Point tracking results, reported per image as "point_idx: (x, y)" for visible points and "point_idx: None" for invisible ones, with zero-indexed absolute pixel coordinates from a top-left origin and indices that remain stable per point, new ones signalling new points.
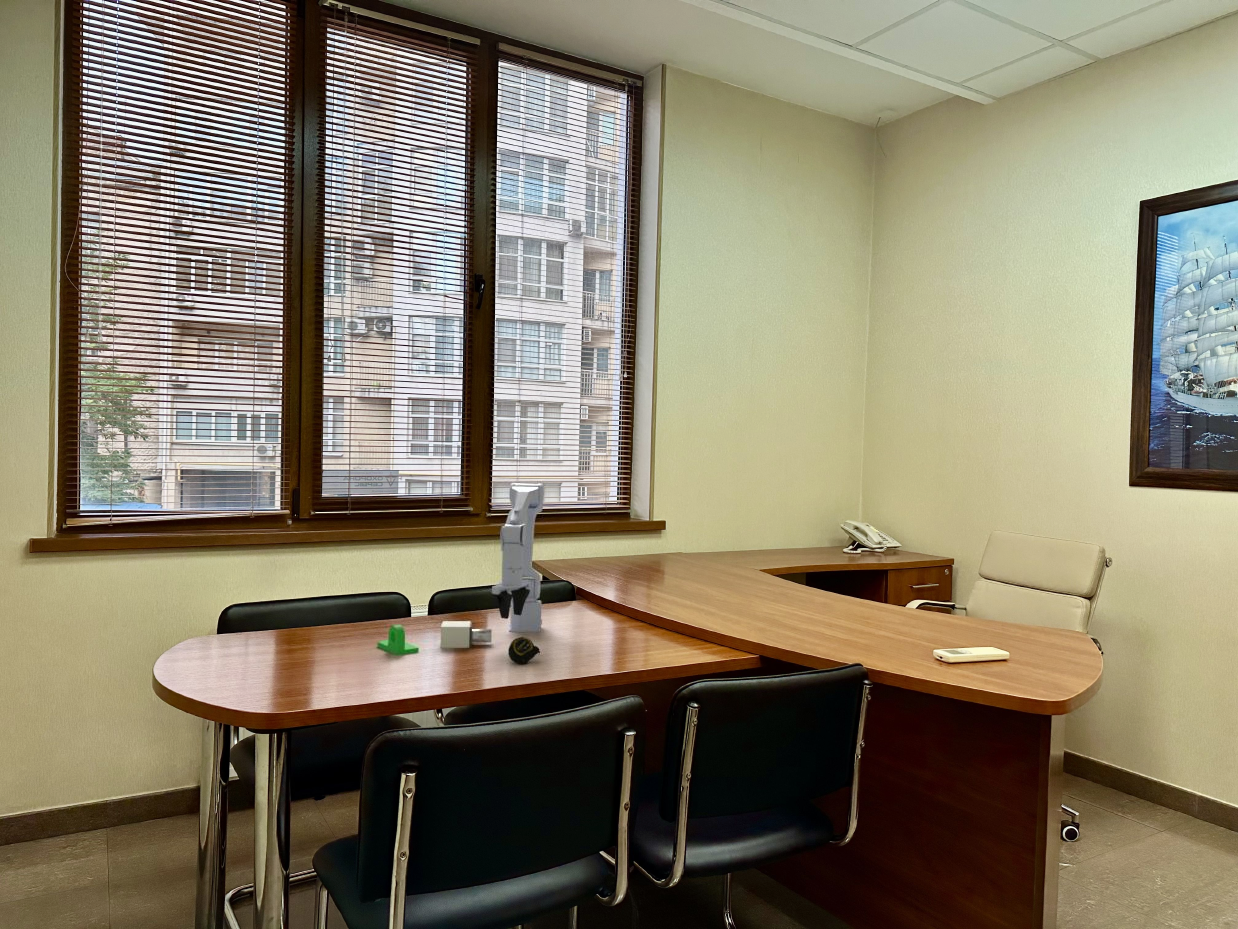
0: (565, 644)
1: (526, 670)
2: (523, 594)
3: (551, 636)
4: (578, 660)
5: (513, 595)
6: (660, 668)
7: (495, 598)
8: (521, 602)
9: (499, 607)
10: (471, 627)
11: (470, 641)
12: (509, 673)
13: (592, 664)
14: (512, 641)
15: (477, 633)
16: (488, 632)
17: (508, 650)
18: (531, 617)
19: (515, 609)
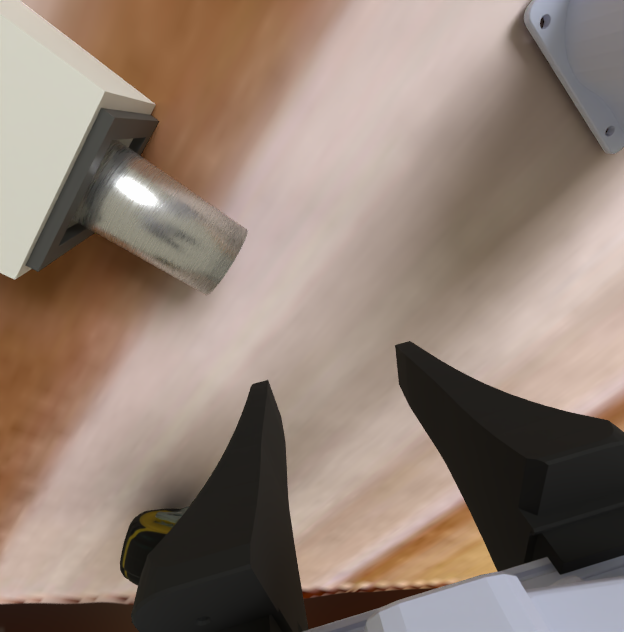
0: (482, 369)
1: None
2: (492, 549)
3: (565, 242)
4: (356, 508)
5: (481, 444)
6: (431, 587)
7: (180, 527)
8: (449, 464)
9: (234, 445)
10: (84, 192)
11: (81, 240)
12: (105, 537)
13: (354, 539)
14: (133, 575)
15: (124, 248)
16: (192, 284)
17: (128, 534)
18: None
19: (413, 377)
